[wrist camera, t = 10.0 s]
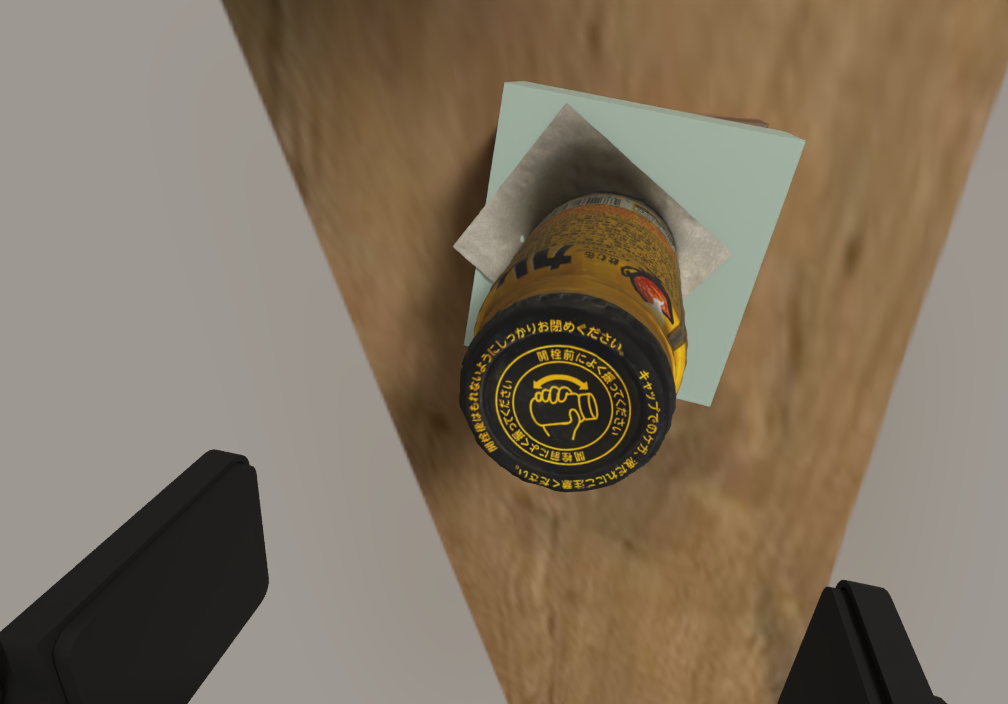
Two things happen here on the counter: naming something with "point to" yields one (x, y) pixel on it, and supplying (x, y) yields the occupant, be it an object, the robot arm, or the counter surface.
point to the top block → (689, 181)
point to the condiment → (579, 312)
